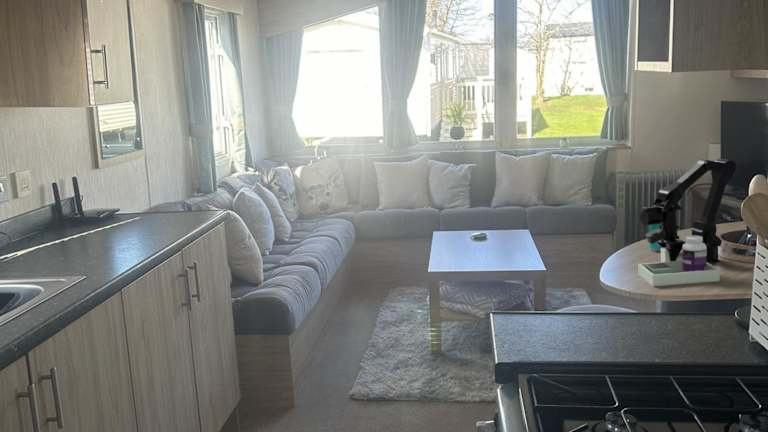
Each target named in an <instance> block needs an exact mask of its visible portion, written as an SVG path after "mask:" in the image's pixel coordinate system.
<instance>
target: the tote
mask: <svg viewBox="0 0 768 432" xmlns="http://www.w3.org/2000/svg"><path fill="white" fill-rule="evenodd" d="M658 263H665V264H667V265H668V266H670V267H671V273H667V274H655V275H654V274H653V273H651V272H650V271H649V270H648V269H646V264H658ZM637 265H638V266H637V268H638V269H637V270H638V276H640V277H641V278H642V279H643V280H645V281H646V282H647V284H650V286H652V287H664V286H675V285H686V284H688V285H689V284H701V283H713V282H720V269H718V268H717V267H715V266H714V265H712V264H711V263H710V262H707V270H704V271H692V272H682V260H679V261H669V262H661V261H660V262H659V261H657V262H645V263H638V264H637Z"/></svg>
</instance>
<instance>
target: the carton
mask: <svg viewBox="0 0 768 432" xmlns="http://www.w3.org/2000/svg"><path fill="white" fill-rule="evenodd" d="M669 261H670V258H669V252H668V250H666V249H665V247H664V248H661V251H660V262H669ZM676 261H680V254H679V255H678V257H677V259H676Z"/></svg>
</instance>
